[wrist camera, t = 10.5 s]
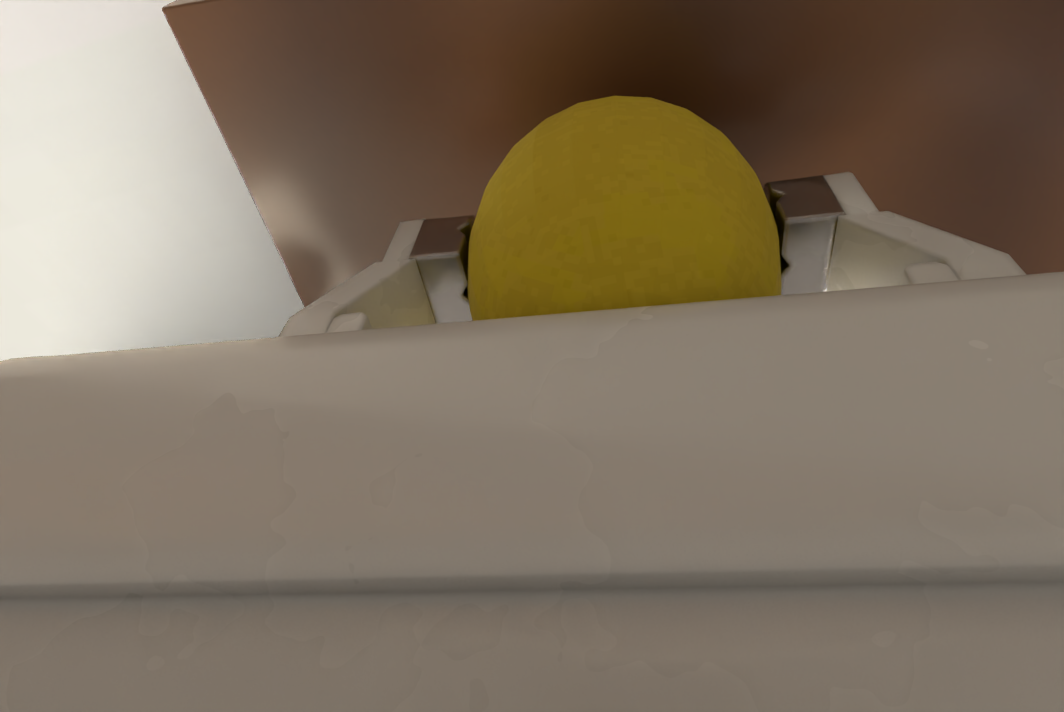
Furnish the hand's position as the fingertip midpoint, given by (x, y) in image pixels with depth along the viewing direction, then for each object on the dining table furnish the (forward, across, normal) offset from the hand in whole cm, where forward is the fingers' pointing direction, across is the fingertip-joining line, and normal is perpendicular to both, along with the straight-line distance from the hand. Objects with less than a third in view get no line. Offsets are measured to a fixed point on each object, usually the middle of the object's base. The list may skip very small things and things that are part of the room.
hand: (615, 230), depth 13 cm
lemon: (+3, 0, 0) cm, 3 cm away
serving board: (+4, -2, 0) cm, 5 cm away
